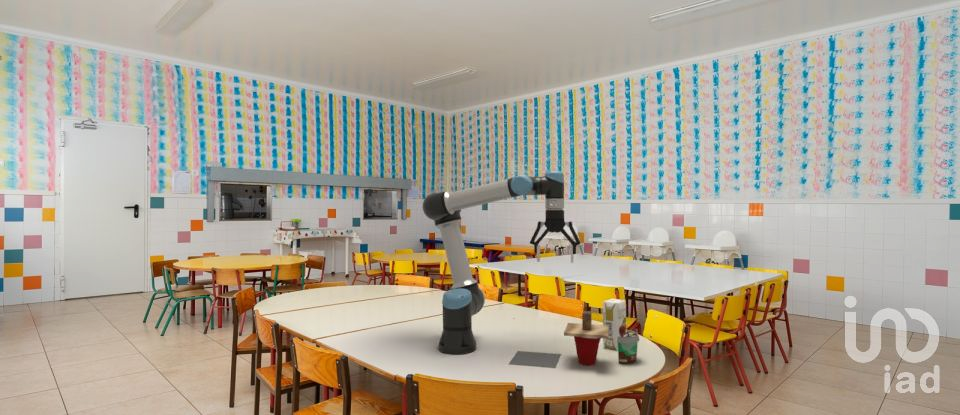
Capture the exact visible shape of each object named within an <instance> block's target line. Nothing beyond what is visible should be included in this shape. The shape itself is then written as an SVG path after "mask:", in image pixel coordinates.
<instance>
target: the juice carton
mask: <svg viewBox="0 0 960 415" xmlns="http://www.w3.org/2000/svg"><path fill="white" fill-rule="evenodd" d="M602 325H609V331H608V339H607V338H602V340H603V341H602V342H603V348H604V349H608V350H613V351H618V343H617V339H618V337H621V336H622V335H623V334H625V333H626V330H627V304H626V300H624V299H618V298H609V299H608V300H603V302H602Z"/></svg>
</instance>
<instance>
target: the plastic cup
mask: <svg viewBox="0 0 960 415" xmlns="http://www.w3.org/2000/svg"><path fill="white" fill-rule="evenodd" d="M573 338H574V339H573V340H574V344H575V349H576V350H575V352H576V356H577V360H578V361H577V362H578V364H579V365H582V366H587V367H589V366H594V365H596V361H597V357H598V351H599V347H600V345H599V344H600V342H601V339H602V338H592V337H576V336H573Z"/></svg>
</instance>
